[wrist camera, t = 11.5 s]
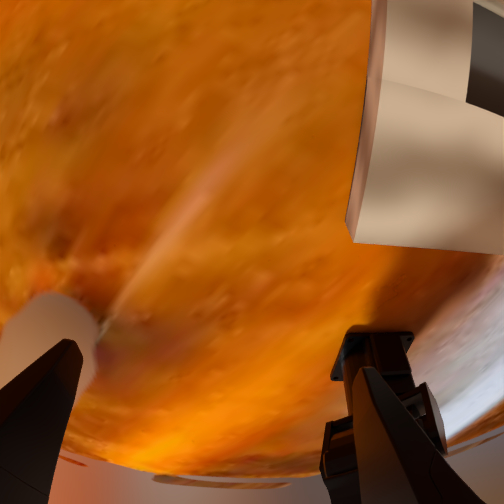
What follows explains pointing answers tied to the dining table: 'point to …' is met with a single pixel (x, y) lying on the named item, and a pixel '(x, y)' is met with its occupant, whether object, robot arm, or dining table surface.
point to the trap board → (432, 128)
